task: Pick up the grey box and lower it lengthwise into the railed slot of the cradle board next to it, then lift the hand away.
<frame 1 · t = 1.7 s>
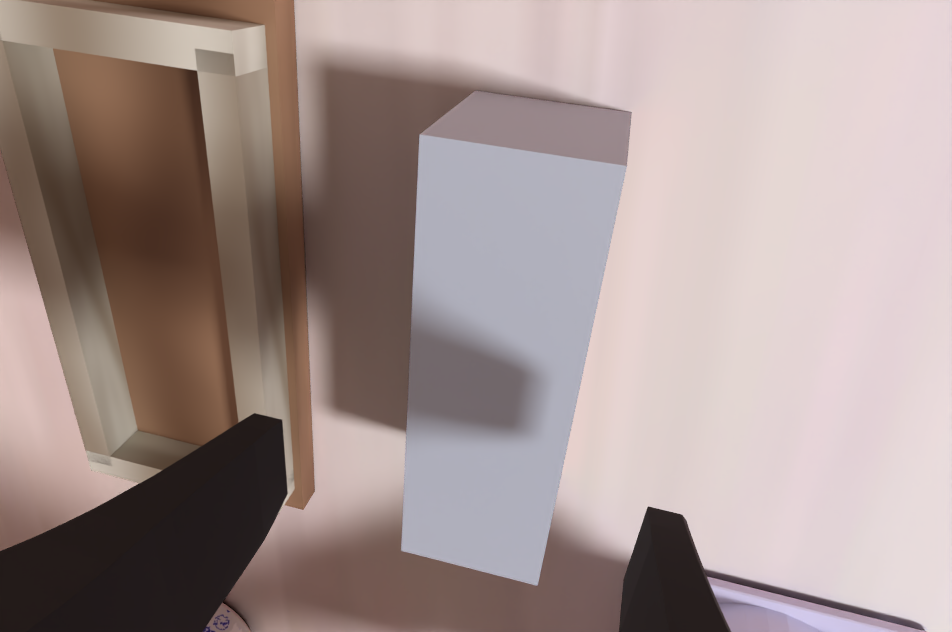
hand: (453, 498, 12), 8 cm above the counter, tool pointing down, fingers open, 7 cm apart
grey box: (523, 303, 19), on the counter
cradle: (194, 268, 21), on the counter
beverage can: (211, 617, 32), on the counter
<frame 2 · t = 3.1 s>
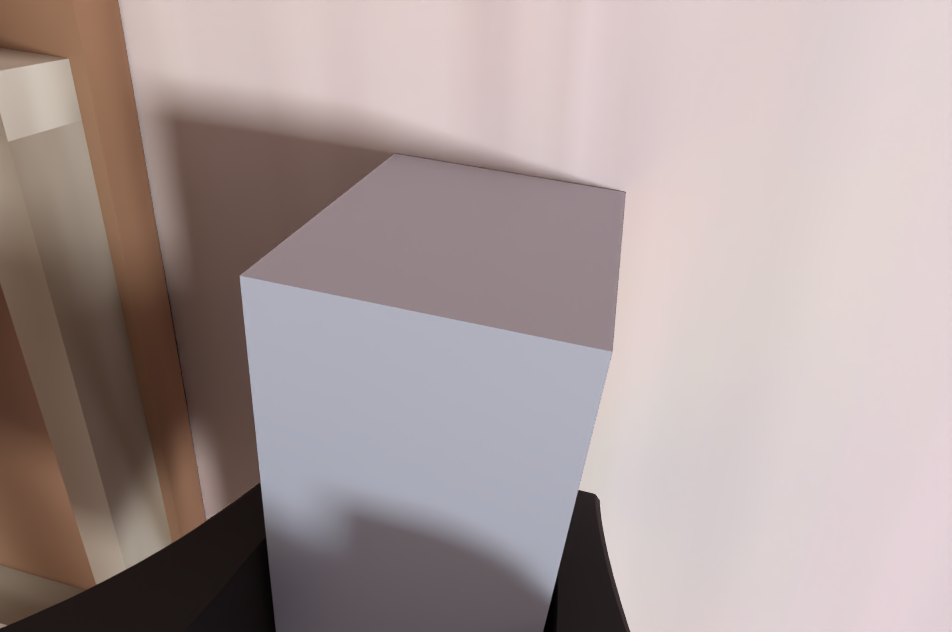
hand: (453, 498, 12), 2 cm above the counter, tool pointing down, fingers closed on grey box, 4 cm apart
grey box: (473, 440, 14), on the counter, touching gripper
cradle: (41, 373, 16), on the counter
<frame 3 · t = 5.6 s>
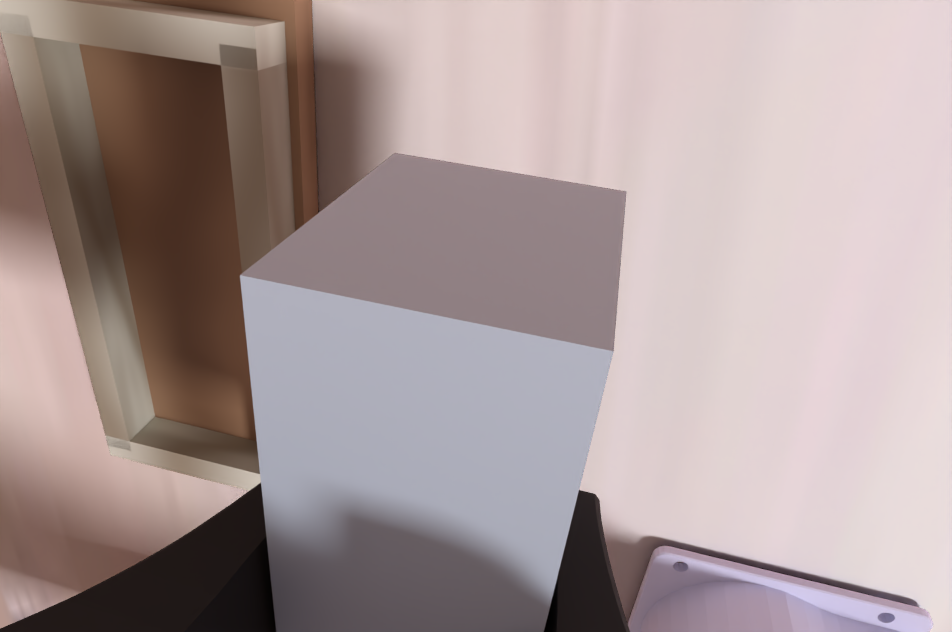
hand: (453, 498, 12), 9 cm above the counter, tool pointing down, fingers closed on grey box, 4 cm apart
grey box: (473, 440, 14), point 7 cm above the counter, touching gripper
cradle: (212, 258, 22), on the counter
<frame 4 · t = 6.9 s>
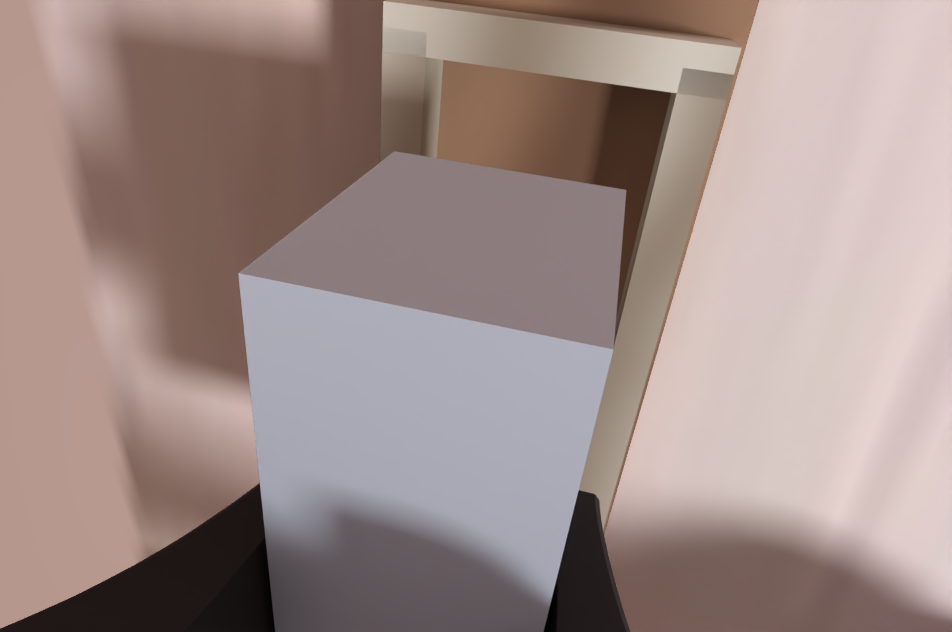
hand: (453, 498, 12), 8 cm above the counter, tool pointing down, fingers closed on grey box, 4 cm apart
grey box: (473, 440, 14), point 6 cm above the counter, touching gripper
cradle: (522, 305, 19), on the counter
when the fingers open (3 cm above the counter, at t = 8.1 s): grey box stays where it is, resting on cradle.
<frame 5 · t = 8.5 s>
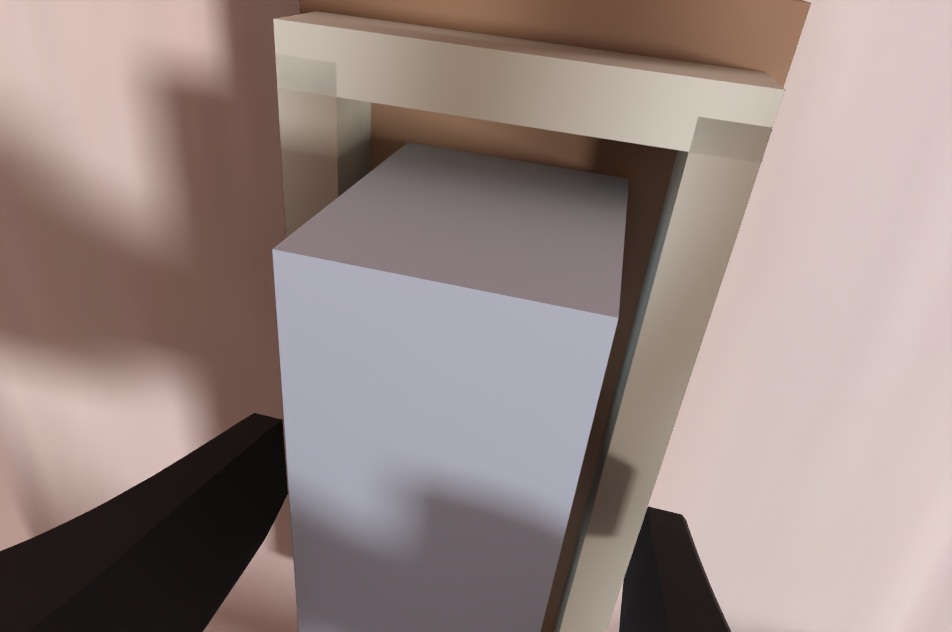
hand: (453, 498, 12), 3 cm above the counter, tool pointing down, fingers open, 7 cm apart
grey box: (480, 421, 14), point 1 cm above the counter, touching cradle
cradle: (489, 395, 15), on the counter
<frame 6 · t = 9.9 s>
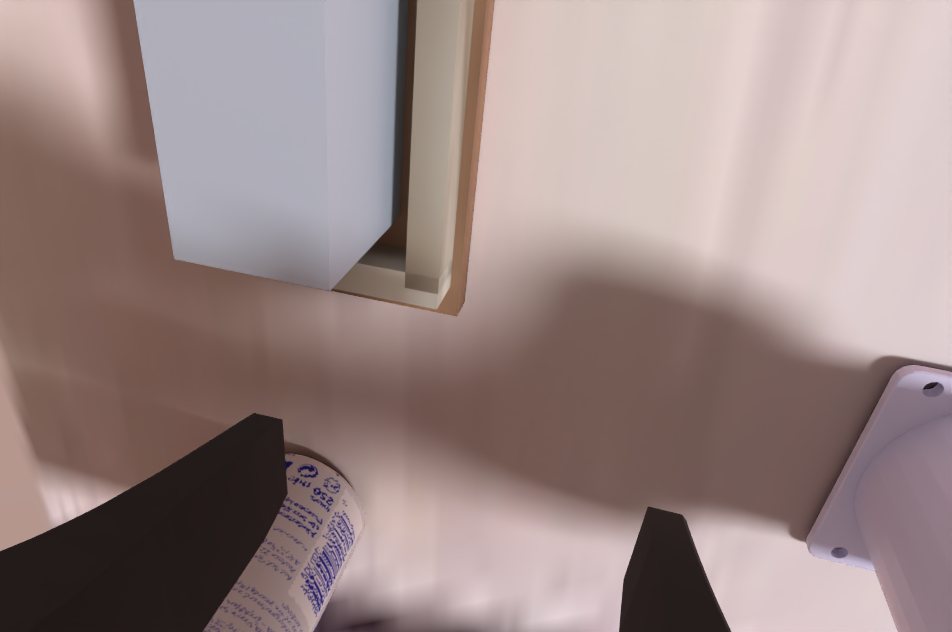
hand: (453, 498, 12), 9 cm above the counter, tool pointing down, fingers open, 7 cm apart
beverage can: (310, 492, 28), on the counter
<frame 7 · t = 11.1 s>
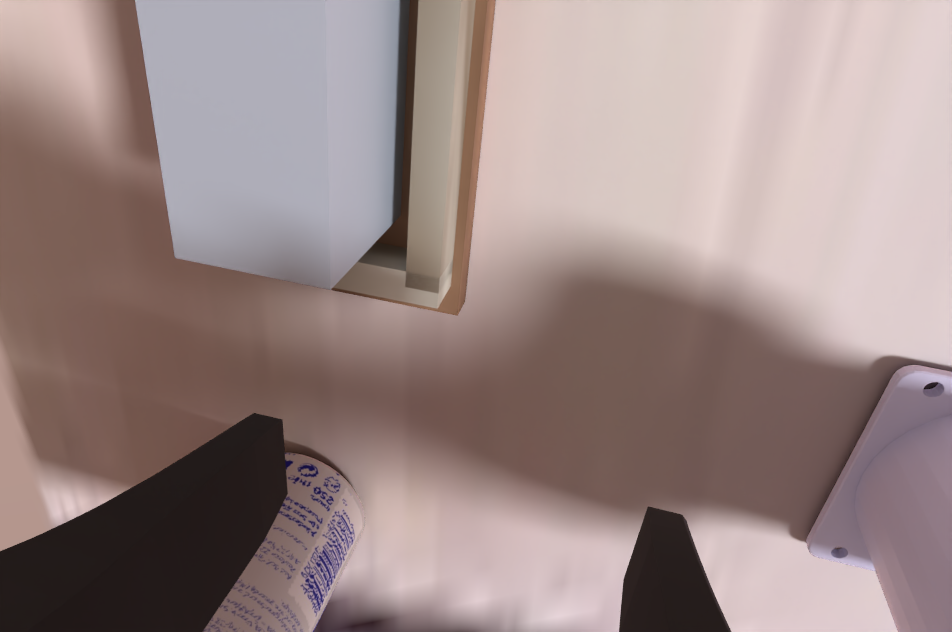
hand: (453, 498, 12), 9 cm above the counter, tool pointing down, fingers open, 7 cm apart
beverage can: (310, 491, 28), on the counter
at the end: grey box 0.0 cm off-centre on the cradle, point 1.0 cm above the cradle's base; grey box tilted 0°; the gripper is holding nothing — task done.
